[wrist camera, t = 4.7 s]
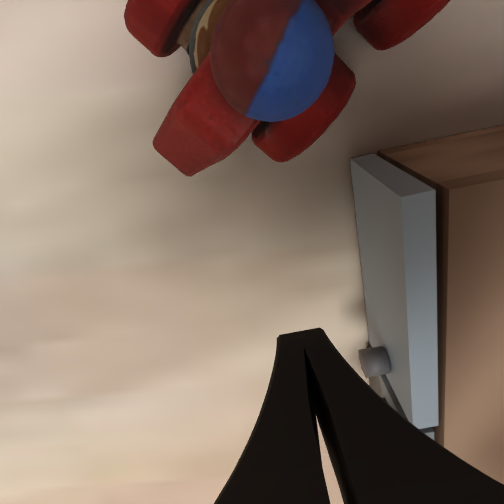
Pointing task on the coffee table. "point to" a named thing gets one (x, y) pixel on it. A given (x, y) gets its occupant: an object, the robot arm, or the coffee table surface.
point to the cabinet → (465, 291)
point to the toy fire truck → (261, 68)
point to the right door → (399, 283)
